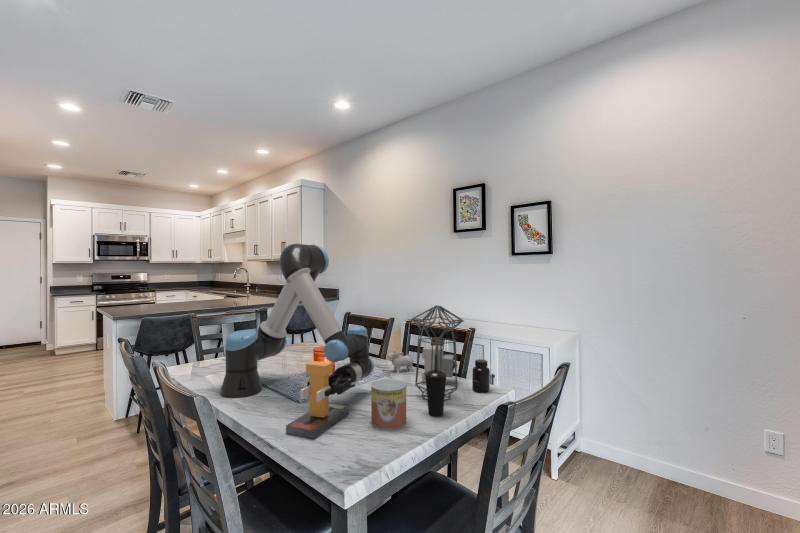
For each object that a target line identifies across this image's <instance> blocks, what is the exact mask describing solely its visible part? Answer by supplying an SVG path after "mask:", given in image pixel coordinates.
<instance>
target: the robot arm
mask: <svg viewBox="0 0 800 533" xmlns="http://www.w3.org/2000/svg"><path fill="white" fill-rule="evenodd" d="M329 263H330V261H329V256H328V253H327V251H326V250H325V249H324V248H323V247H322V246H320V245H316V244H302V243H292V244H289V245H287V246H286V247H285V248H283V250H282V252H281V254H280V256H279V267H280V271H281V274H282V275H283V279H285V283H284V285H283V287H282V289H281V291H280V293H279V295H278V298H277V299H276V300H275V303H274V305H273V307H272V309H271V311H270V313H269V315H268V317H267V319H266V320H264V321H261V322H260V325H259V326H258V328H257V330H255V329H244V330H237V331H235V332H232V333H230V334H228V335H227V336H226V338H225V345H224V347H225V375H224V378H223V380H222V385H221V387H220V395H221V396H222V397H225V398H245V397H250V396H252V395H256V394H258V393H260V392H261V391H262V390H263V383H262V381H261V378H260V374H259V371H258V362H259V361H261V360H264V359H267V358H270V357H275V356H277V355H278V354H281V353H282V352H283V351H284V350H285V348H286V346H287V344H288V342H287V341H288V340H287V339H288V338H287V330H286V328H287V327H288V325H289V322H290V321H291V319H292V317H293V315H294V313H295V311H296V310H297V308H298V305H299V304H300V302H301V304H302V306H303V308H304V309H305V310H306V312H307V314H308V316H309V318H310V320H311V321H312V323H313V325H314V327H315V329H316V330H317V332H318V333H319V335H320V337H321V339H322V341H323V343H324V344H325V345H324V347H323V355H324V357H325V358H326V359H327V360H328V361H329V362H330V363H338V362H342V361H345V360H346V359H349V362H348V363H346V364H343V365H341V366H339V367H337V368H336V369H335V371H334V372H333V373H331V374H329V386H327V387H325V388H323V389H321V390H320V391H318V392H316V401H318V402H319V401H320V400H322V399H324V398H325V397H327V396H333V395H335V394H336V395H338V396H340V395H342V394H344V393H345V392H346V391H348V390H350V389H351V388H354V387H356V383H357V382H359V381H361V380H363V379H365V378H367V377H368V376H369V375H370V374H372V373H373V371H374V369H375V364H374V361H373V359H372V358H371V356H370V355H369V351H370V350H369V335H368V330H367V328H366V327H364V326H356V327H355V326H354V327H350V328H348V329H347V334H345V333H344V330H343V329H342V328H341V326H340V324H339V322H338V320H337V319H336V317H335V316H334V313H333V312H332V310H331V309H330V306H329V304H328V303H327V301H326V300H325V297H324V296H323V295H322V293H321V291H320V289H319V288H318V285H317V284H316V282H315V281H316V279H317V277H319V275H320V274H322V273H324V272H326V270H327V269H328V268H329ZM299 394H300V400H303V399H305V398H308V397H310V380H309V381H307V382H306V387H303V388H302V389H300V390H299Z"/></svg>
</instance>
